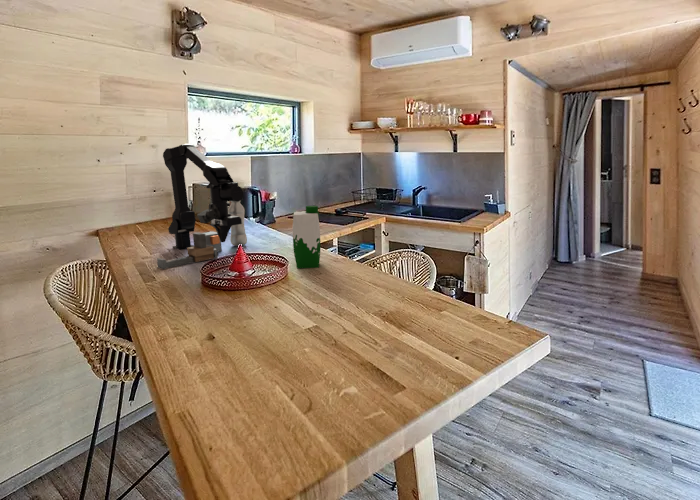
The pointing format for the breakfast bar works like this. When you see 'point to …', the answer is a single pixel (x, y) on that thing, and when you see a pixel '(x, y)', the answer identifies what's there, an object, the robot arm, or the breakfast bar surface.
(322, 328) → the breakfast bar surface
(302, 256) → the milk carton
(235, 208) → the plastic bottle
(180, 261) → the rail
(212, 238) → the plunger
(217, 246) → the block
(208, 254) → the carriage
